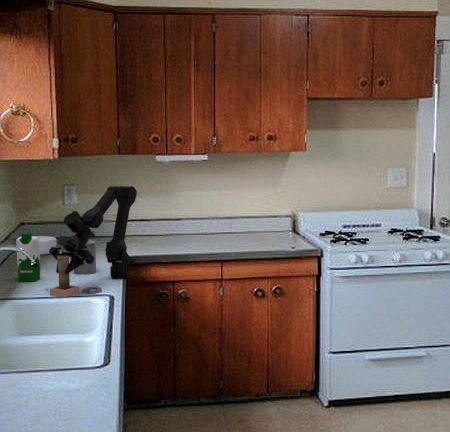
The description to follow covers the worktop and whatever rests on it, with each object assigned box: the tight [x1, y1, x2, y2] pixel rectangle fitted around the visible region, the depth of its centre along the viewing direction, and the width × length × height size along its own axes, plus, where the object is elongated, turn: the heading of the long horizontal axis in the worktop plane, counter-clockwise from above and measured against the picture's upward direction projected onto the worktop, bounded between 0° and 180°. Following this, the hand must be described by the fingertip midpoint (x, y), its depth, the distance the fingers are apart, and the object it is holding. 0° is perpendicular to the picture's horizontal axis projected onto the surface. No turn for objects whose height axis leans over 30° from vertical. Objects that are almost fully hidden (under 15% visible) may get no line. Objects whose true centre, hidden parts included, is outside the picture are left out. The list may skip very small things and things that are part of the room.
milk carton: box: [15, 232, 41, 283], centre depth 272 cm, size 9×9×20 cm
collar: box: [49, 284, 80, 298], centre depth 248 cm, size 8×8×2 cm
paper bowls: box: [39, 235, 57, 256], centre depth 335 cm, size 15×15×8 cm
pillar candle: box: [73, 239, 97, 275], centre depth 287 cm, size 10×10×15 cm
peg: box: [57, 255, 71, 290], centre depth 248 cm, size 4×4×13 cm
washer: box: [82, 286, 103, 294], centre depth 253 cm, size 7×7×1 cm
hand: (61, 273), depth 246 cm, fingers closed on peg, 4 cm apart
